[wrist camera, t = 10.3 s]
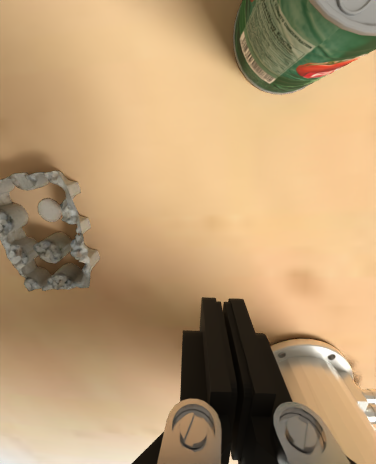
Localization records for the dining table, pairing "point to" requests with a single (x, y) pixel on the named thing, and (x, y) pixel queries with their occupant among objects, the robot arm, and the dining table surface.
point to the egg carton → (52, 248)
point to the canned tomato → (300, 40)
